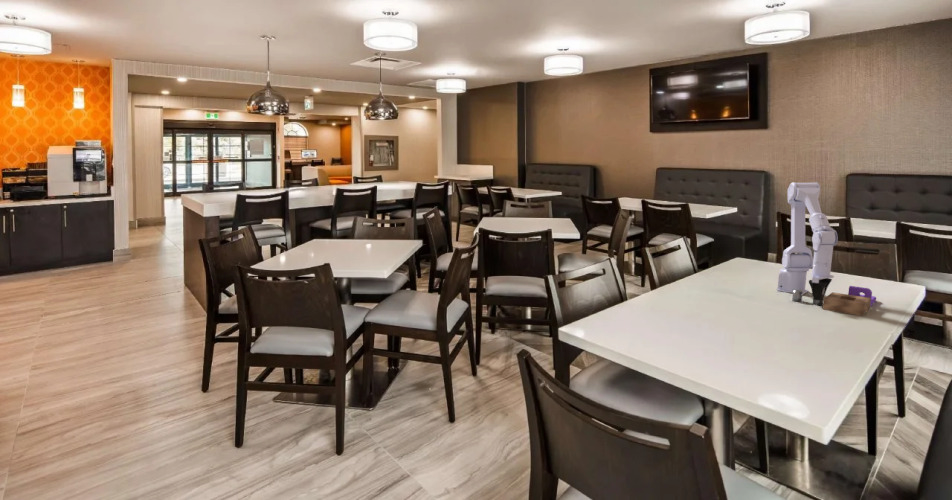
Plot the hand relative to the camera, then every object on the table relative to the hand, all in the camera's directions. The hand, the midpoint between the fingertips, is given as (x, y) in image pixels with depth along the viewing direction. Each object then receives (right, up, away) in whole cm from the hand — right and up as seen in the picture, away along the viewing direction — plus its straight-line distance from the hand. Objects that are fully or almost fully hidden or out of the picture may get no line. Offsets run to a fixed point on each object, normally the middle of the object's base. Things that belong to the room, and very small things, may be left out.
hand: (818, 298), depth 205 cm
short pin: (-5, -1, +5) cm, 7 cm away
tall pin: (0, -2, 0) cm, 2 cm away
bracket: (+18, -2, +3) cm, 18 cm away
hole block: (+6, -3, -6) cm, 9 cm away
